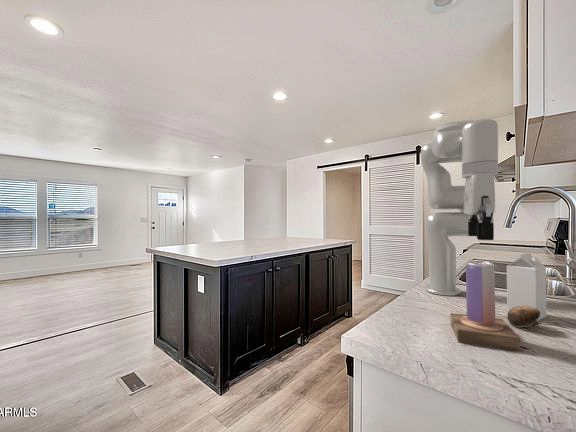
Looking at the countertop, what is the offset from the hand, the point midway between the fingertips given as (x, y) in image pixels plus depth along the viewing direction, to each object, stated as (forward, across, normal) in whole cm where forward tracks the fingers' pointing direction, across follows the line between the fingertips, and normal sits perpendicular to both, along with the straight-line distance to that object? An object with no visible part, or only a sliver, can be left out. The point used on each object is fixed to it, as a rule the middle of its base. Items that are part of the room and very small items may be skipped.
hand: (479, 237), depth 69 cm
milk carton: (+26, -20, +16) cm, 36 cm away
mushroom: (+25, -10, +12) cm, 30 cm away
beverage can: (+22, 0, 0) cm, 22 cm away
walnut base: (+25, +1, 0) cm, 25 cm away
